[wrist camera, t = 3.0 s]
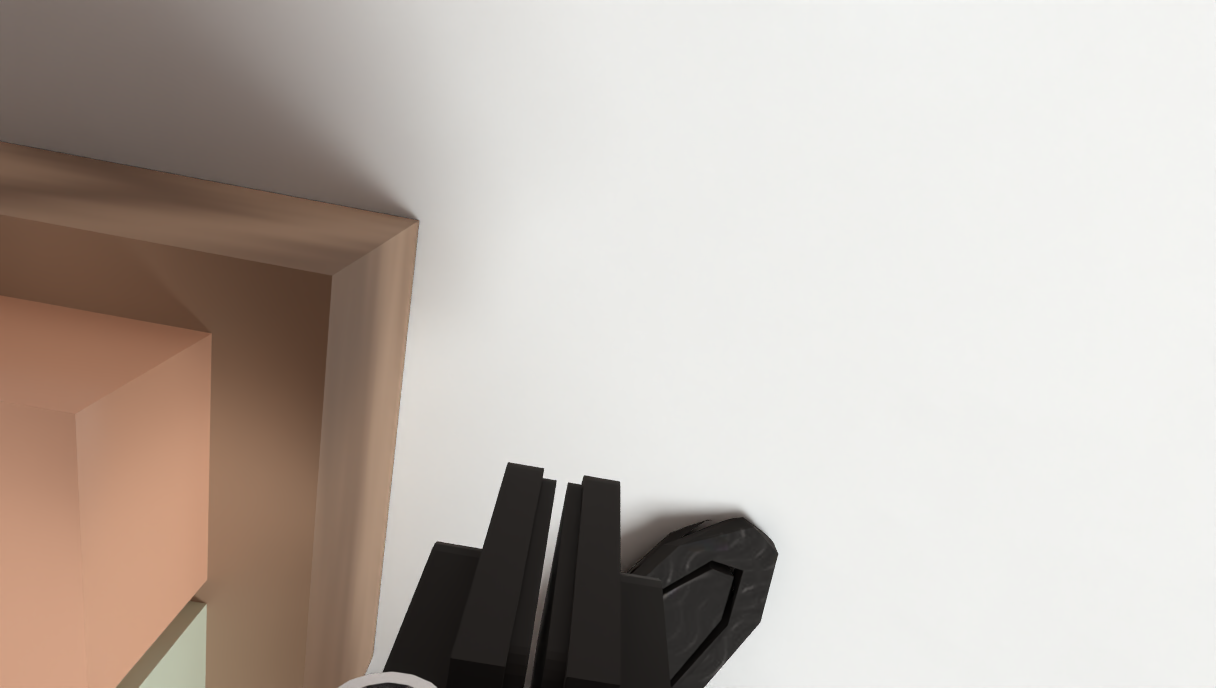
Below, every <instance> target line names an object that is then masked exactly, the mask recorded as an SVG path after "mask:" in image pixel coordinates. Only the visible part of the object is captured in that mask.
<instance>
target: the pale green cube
mask: <svg viewBox="0 0 1216 688" xmlns="http://www.w3.org/2000/svg"><path fill="white" fill-rule="evenodd" d="M206 621H207V604H206V603H200V602H194V601H189V602H188V603H187V604H186V605H185V606H184V608H183V609H182V610H181V611H180V612H179V613H178V615H177V616H176V617H175V618H174V619H173V621H172V622H171V623H170V624H169V625H168V626H167V628H166V629H165V630H164V631H163V632H162V633H161V635H160V636H159V637H158V638H157V639H156V641H155V642H154V643H153V644H152V645H151V646H150V648H149V649H148V650H147V651H146V652H145V653H144V655H143V656H142V657H141V658H140V659H139V660H138V662H137V663H136V664H135V665H134V666H133V668H132V669H131V670H130V671H129V672H128V673H127V675H126V676H125V677H124V678H123V679H122V680H121V682H120V683H119V684H118V685H117V686H116V688H205V676H206Z"/></svg>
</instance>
